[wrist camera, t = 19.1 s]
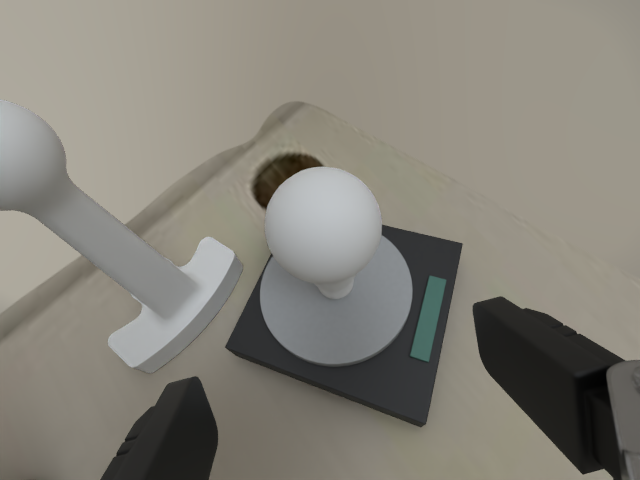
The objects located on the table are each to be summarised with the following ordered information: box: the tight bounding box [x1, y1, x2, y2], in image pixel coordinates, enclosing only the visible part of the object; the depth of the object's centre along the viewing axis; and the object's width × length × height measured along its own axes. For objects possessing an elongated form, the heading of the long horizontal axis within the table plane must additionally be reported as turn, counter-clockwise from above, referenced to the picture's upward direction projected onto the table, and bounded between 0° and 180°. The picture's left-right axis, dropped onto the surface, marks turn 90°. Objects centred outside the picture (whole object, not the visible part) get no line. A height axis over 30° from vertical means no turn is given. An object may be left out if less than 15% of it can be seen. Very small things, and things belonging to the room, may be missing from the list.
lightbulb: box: [265, 167, 382, 299], centre depth 21 cm, size 6×6×11 cm
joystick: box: [0, 99, 243, 373], centre depth 22 cm, size 11×8×20 cm
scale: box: [225, 225, 462, 427], centre depth 26 cm, size 13×14×3 cm
